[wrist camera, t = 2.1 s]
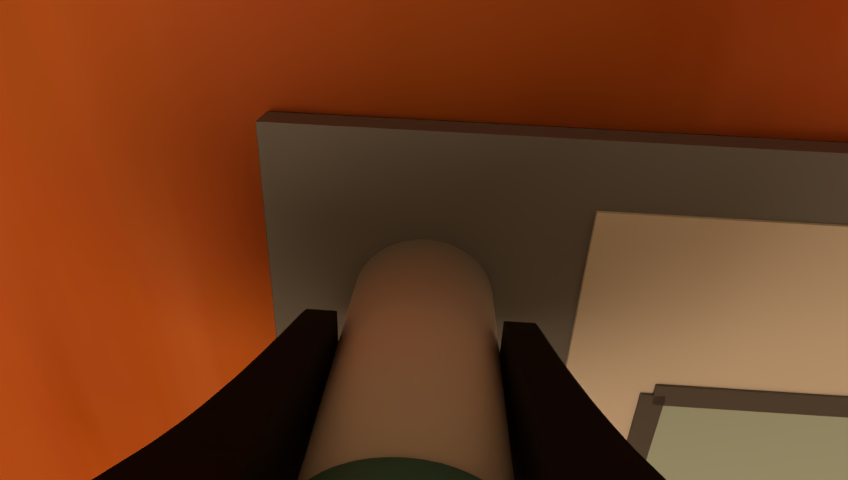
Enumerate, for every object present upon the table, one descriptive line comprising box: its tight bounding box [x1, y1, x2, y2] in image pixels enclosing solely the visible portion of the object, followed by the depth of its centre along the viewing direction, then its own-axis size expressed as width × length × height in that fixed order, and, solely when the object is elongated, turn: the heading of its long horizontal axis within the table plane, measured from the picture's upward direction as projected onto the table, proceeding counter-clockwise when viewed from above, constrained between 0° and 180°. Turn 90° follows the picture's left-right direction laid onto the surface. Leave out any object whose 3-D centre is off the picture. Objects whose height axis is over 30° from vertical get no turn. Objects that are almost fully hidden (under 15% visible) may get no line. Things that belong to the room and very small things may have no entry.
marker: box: [298, 239, 514, 480], centre depth 9 cm, size 3×3×8 cm
